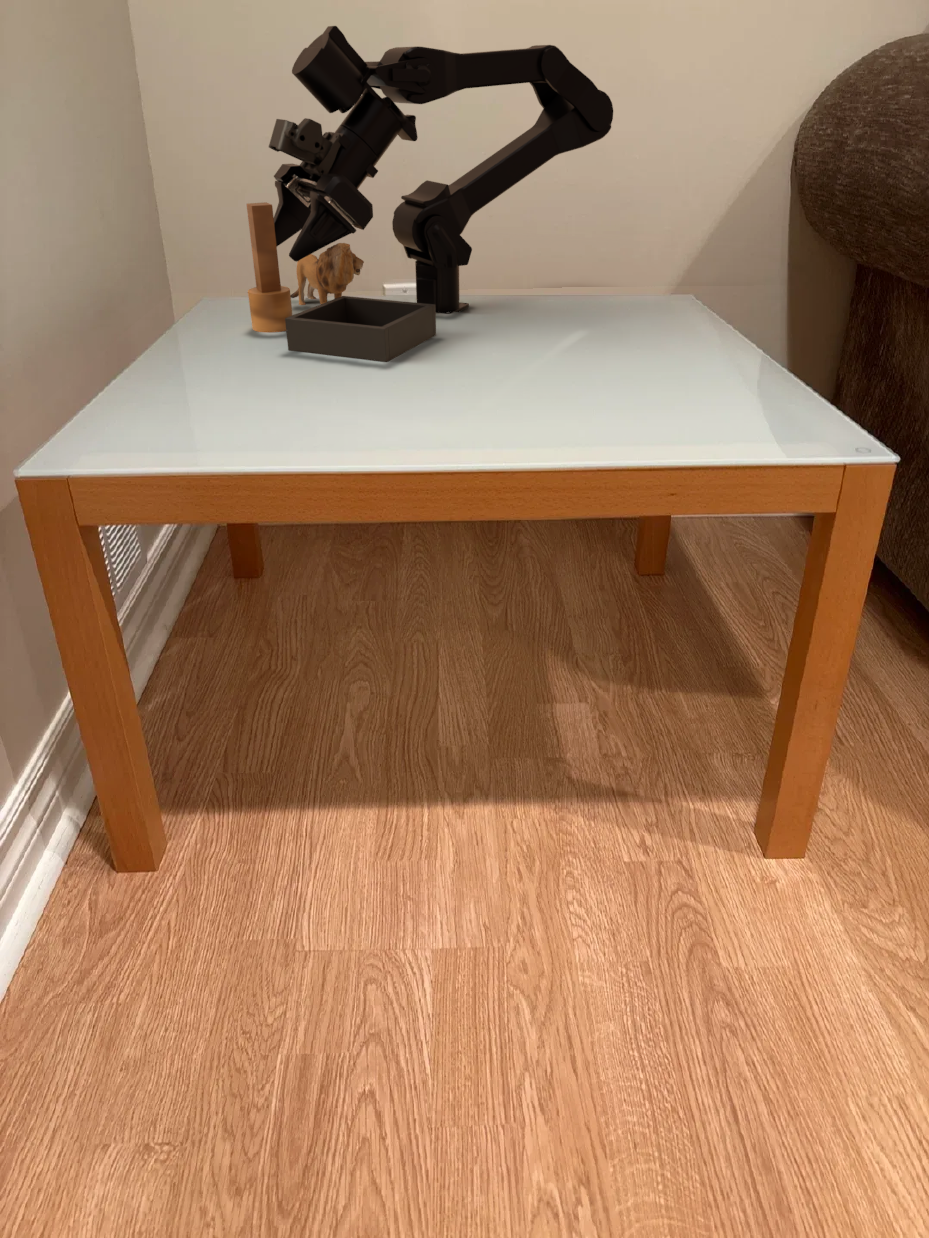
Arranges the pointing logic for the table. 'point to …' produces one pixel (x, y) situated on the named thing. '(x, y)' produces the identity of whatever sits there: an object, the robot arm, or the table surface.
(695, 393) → the table surface
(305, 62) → the robot arm
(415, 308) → the box
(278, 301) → the wooden peg stand
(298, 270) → the lion figurine
